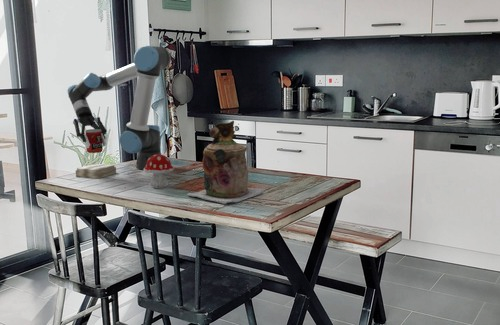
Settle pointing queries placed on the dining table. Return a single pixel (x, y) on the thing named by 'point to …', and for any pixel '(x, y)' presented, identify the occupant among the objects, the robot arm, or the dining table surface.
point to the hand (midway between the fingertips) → (96, 145)
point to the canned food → (94, 140)
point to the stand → (95, 170)
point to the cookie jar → (225, 168)
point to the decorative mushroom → (158, 170)
